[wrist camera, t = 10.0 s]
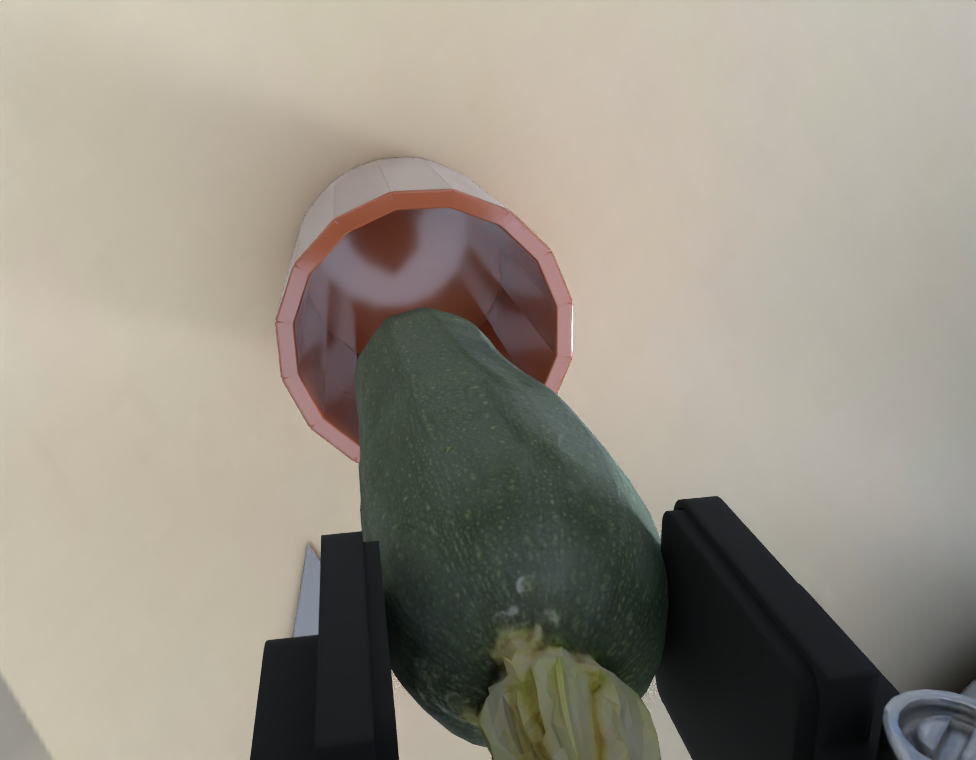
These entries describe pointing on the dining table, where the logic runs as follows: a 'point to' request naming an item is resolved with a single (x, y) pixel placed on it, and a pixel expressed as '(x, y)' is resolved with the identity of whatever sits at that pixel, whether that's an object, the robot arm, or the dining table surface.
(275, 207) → the dining table surface
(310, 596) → the chef's knife
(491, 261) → the cup
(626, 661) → the vegetable
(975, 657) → the dining table surface
